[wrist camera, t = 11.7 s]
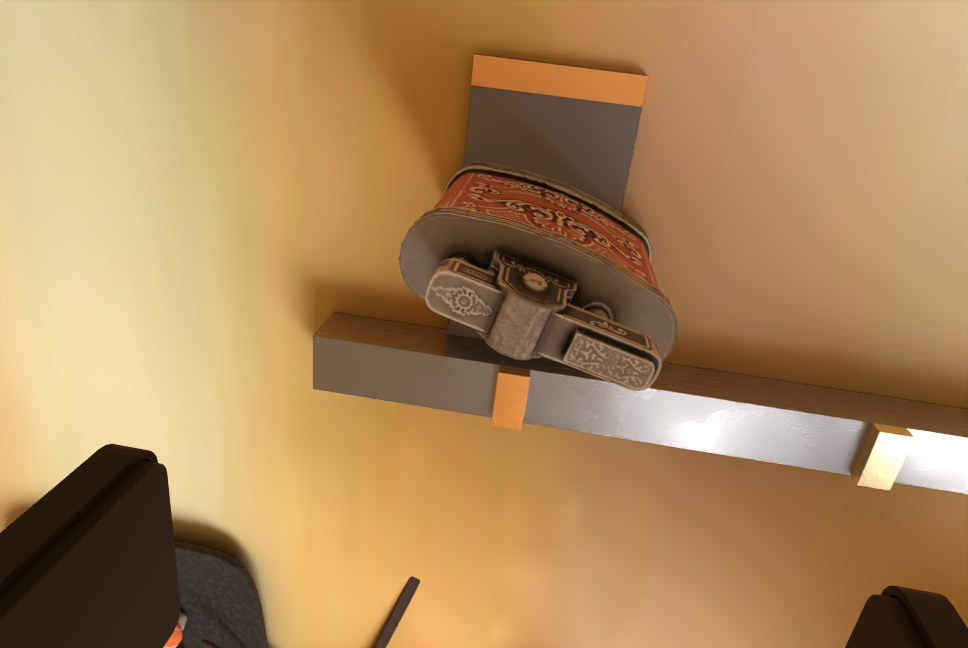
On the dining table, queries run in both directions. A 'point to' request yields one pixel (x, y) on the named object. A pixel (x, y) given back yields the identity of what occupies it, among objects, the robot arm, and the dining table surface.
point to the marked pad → (554, 126)
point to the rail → (651, 404)
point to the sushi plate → (234, 603)
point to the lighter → (542, 274)
